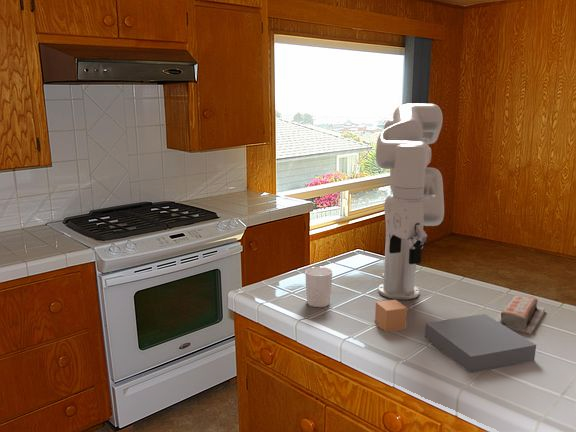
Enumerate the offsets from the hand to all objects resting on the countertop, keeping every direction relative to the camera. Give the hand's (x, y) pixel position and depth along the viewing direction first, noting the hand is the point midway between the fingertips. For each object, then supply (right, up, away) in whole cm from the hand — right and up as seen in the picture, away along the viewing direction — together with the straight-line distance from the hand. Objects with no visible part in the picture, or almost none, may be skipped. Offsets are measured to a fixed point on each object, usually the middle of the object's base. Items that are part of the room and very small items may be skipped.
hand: (404, 257), depth 133 cm
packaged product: (+34, -18, +10) cm, 40 cm away
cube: (-3, -19, +5) cm, 19 cm away
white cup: (-21, -15, +19) cm, 33 cm away
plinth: (+16, -22, -8) cm, 28 cm away
